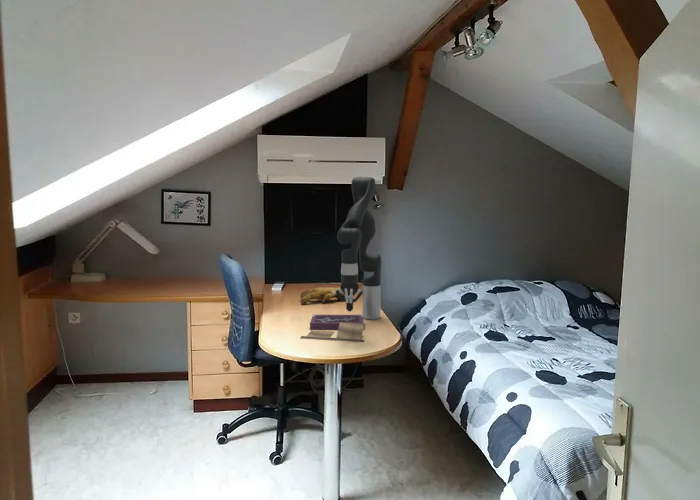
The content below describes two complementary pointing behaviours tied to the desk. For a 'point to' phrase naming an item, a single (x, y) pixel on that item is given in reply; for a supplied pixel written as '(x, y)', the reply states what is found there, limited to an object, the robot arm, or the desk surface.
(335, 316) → the purple gear tray
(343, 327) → the plank
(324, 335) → the plank
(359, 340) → the strip
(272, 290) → the desk surface
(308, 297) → the toy
